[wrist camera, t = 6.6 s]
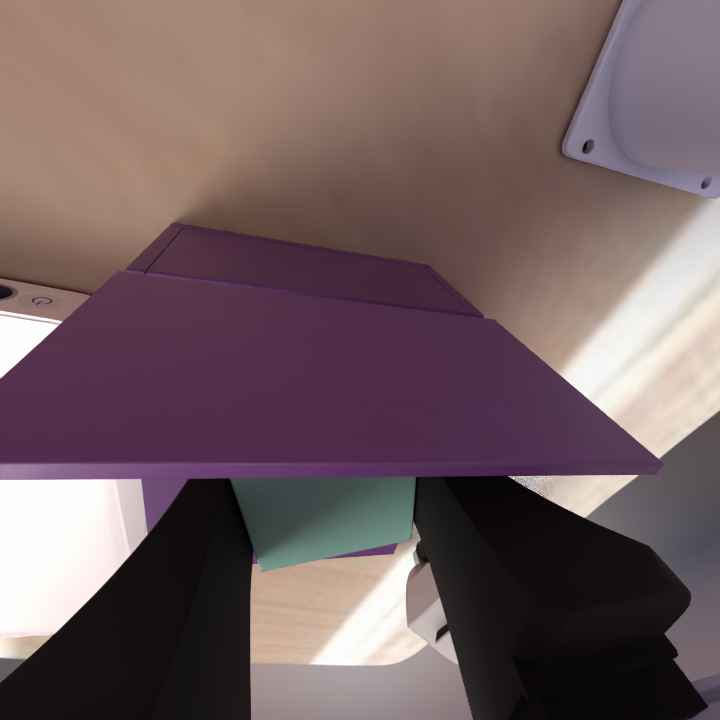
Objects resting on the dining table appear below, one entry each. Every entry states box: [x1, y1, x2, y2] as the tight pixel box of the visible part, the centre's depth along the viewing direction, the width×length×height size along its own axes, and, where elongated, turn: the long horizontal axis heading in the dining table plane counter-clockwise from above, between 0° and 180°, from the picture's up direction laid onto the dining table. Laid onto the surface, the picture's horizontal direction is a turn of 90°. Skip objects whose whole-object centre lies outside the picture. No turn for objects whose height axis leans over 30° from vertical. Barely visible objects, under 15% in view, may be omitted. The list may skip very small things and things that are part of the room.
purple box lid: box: [0, 271, 664, 480], centre depth 8 cm, size 6×11×1 cm
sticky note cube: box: [230, 477, 416, 572], centre depth 11 cm, size 4×4×4 cm
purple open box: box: [125, 223, 484, 564], centre depth 16 cm, size 13×11×6 cm
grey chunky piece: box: [406, 541, 459, 665], centre depth 26 cm, size 6×7×10 cm
